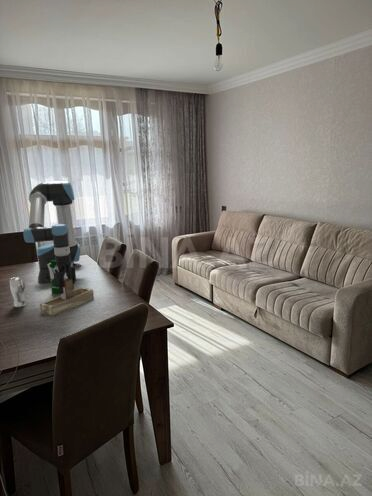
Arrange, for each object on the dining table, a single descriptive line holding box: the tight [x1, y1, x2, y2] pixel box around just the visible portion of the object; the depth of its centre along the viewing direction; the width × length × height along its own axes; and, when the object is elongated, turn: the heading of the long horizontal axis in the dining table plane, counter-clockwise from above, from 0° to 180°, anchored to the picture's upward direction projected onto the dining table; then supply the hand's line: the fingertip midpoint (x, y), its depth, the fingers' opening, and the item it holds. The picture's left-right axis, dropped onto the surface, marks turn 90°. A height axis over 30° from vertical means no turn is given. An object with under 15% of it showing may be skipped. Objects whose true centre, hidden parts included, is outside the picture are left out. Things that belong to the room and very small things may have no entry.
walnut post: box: [63, 278, 74, 300], centre depth 182 cm, size 4×4×10 cm
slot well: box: [39, 286, 95, 317], centre depth 184 cm, size 9×27×5 cm, turn 150°
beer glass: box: [9, 276, 27, 308], centre depth 185 cm, size 7×7×15 cm
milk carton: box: [47, 260, 67, 295], centre depth 203 cm, size 9×9×20 cm
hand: (67, 297), depth 183 cm, fingers closed on walnut post, 4 cm apart
